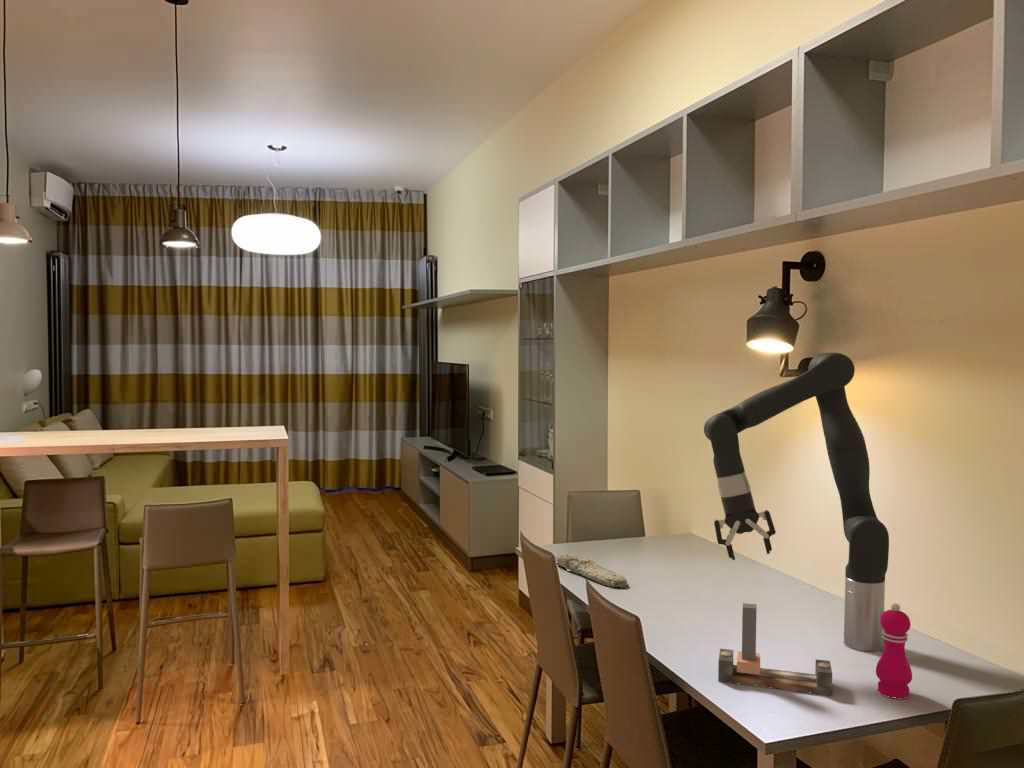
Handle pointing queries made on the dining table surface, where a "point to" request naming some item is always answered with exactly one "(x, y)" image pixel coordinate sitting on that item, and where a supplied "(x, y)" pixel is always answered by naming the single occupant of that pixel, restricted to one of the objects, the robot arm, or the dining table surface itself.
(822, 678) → the rail
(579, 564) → the long grey stone
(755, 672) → the carriage
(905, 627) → the pepper mill
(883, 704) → the dining table surface
